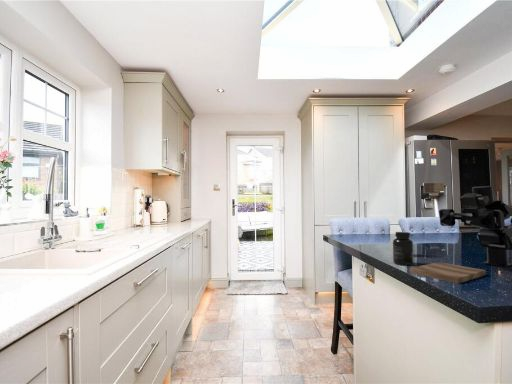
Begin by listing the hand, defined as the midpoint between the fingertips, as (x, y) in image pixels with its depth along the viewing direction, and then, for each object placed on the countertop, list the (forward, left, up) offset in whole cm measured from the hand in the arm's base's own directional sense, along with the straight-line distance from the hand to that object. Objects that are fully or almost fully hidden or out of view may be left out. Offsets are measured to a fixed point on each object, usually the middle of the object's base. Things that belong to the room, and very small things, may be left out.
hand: (454, 222), depth 91 cm
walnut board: (+5, -1, -17) cm, 17 cm away
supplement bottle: (+3, -17, -17) cm, 24 cm away
